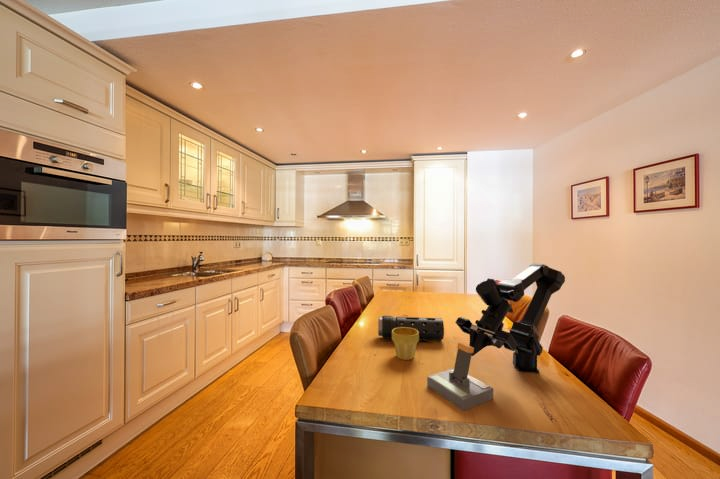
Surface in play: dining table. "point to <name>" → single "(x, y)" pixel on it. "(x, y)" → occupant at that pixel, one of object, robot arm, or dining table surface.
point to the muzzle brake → (428, 331)
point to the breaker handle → (462, 361)
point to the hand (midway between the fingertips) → (470, 355)
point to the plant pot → (405, 342)
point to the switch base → (460, 389)
